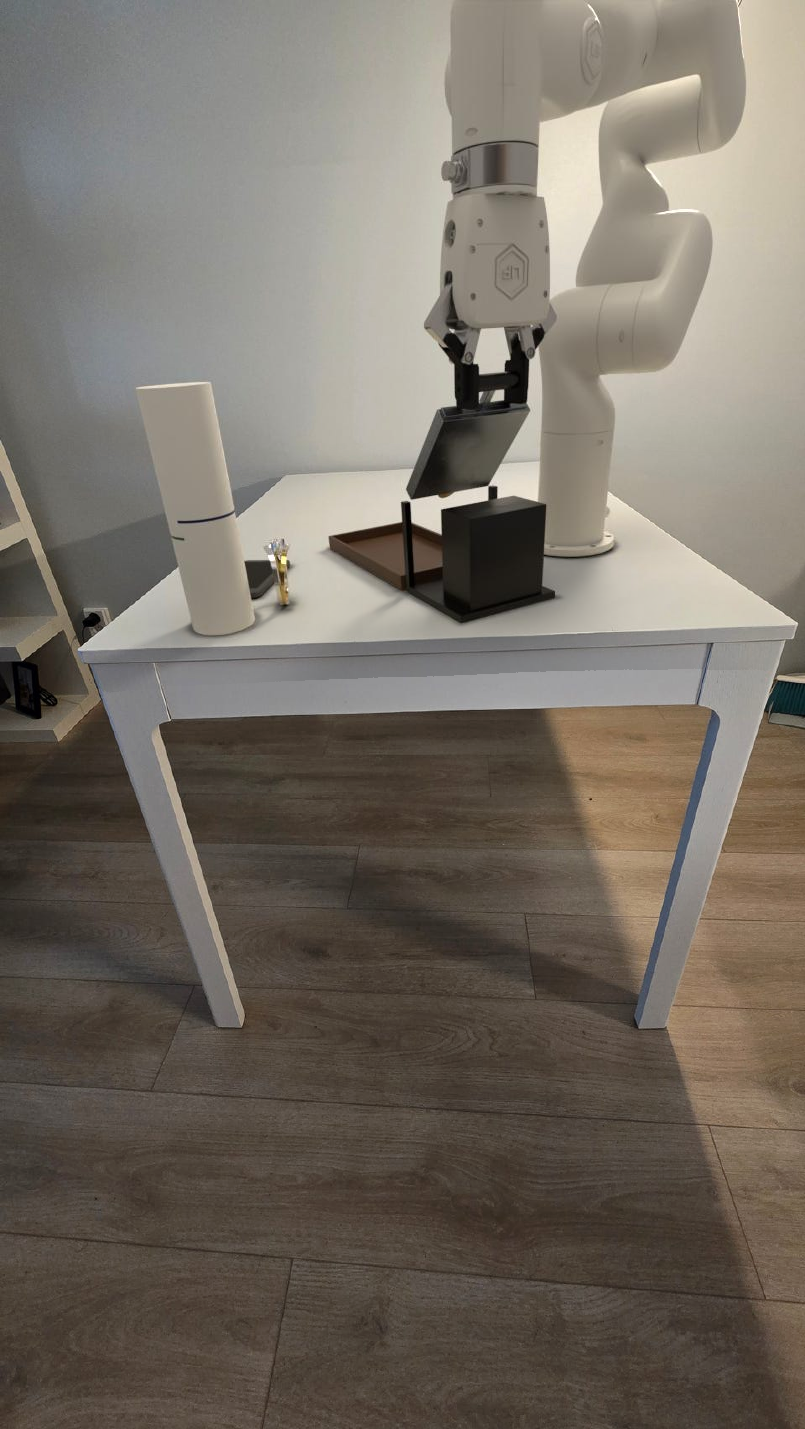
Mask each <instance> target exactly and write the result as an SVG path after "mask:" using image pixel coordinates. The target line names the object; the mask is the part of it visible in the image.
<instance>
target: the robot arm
mask: <svg viewBox="0 0 805 1429" xmlns="http://www.w3.org/2000/svg"><path fill="white" fill-rule="evenodd" d="M740 17H741V16H740V10H739V4H738V0H452V3H451V9H450V26H449V27H450V32H449V33H450V51H449V54H448V57H447V61H446V65H445V71H444V86H443V87H444V96H445V102H446V106H447V109H448V112H449V116H450V117H451V156H450V160H445V161H443V163H442V165H441V171H440V175H441V179H442V181H443V182H449V183H450V184H451V194H452V199H451V200H449V201H448V202H447V205H446V210H445V215H444V223H443V231H442V238H441V239H442V240H441V252H440V267H439V268H440V270H439V275H440V276H439V296H438V297H437V299H436V301H435V303H434V305H433V306H432V308H431V310H430V312H428V315H427V317H426V318H425V320H424V322H423V328H424V331H426V332H427V333H428V335H429V336H430V337H431V338H432V339H433V340H434V341H436V342H437V344H438V346H439V347H440V349H441V350H442V351H443V353H444V354H445V355H446V356H447V357H448V362H449V364H450V365H453V371H454V372H453V378H454V379H453V381H454V399H455V404H456V405H455V406H457V408H458V409H467V410H475V409H477V408H478V407H479V403H480V402H479V401H480V392H479V374H480V366H479V363H474V361H475V357H476V352H477V348H478V343H479V340H480V335H481V331H482V330H484V329H485V330H486V329H501V328H502V329H503V330H504V335H505V340H506V346H507V349H508V353H509V359H506V360H505V362H504V371H503V372H507V371H517V372H518V374H519V385H518V386H517V387H516V388H513V389H504V390H503V400H504V401H505V402H506V403H513V404H525V403H527V402H528V393H529V382H530V381H529V380H530V360H533V359H534V358H535V356H536V351H537V348H538V356H539V363H540V364H539V365H540V375H541V424H540V425H541V426H540V428H541V429H540V442H539V443H540V444H539V445H540V447H539V467H538V486H537V488H538V489H537V502H540V503H544V504H546V524H545V543H544V556H545V555H546V556H554V557H564V558H565V557H566V558H569V557H570V558H571V557H572V558H574V557H575V558H576V557H586V556H594V555H599V554H602V553H606V552H607V551H609V550H611V549H612V548H614V545H615V536H614V534H612V533H611V532H610V531H607V530H605V525H606V524H605V523H606V518H608V517H609V516H610V513H611V509H610V507H609V506H608V494H609V483H610V474H611V464H612V454H613V445H614V434H615V428H616V427H615V425H616V409H615V403H614V401H613V398H612V396H611V394H610V392H609V391H608V389H607V387H606V386H605V384H604V382H603V380H602V378H601V376H607V375H625V374H627V375H629V374H630V375H631V374H647V373H649V374H650V373H655V372H656V373H657V372H660V371H662V370H665V369H666V368H667V367H669V366H670V365H671V364H672V363H673V362H674V360H675V359H676V357H677V355H678V353H679V351H680V350H681V347H682V345H683V342H684V341H685V340H684V339H685V337H686V335H687V332H688V329H689V326H690V324H691V321H692V318H693V316H694V313H695V311H696V308H697V305H698V302H699V300H700V297H701V295H702V294H703V293H702V292H703V290H704V287H705V284H706V281H707V278H708V275H709V270H710V266H711V262H712V255H713V246H714V245H713V243H714V242H713V241H714V240H713V230H712V226H711V223H710V220H709V219H708V217H707V216H706V215H705V214H704V213H703V212H701V211H699V210H696V209H677V210H671V211H669V209H670V204H669V198H668V195H667V193H666V191H665V189H664V187H663V185H662V183H661V181H660V180H659V178H657V177H656V175H655V174H654V173H653V172H652V171H651V170H650V169H649V168H648V167H646V166H647V165H650V164H651V165H652V164H656V163H660V162H666V161H671V160H677V159H682V158H688V157H693V156H697V155H703V154H707V153H711V152H713V151H716V150H719V149H722V148H723V147H724V146H726V145H727V144H728V143H729V142H730V141H731V140H732V138H734V136H735V135H736V133H737V132H738V129H739V127H740V125H741V122H742V119H743V115H744V111H745V106H746V96H747V75H746V74H747V72H746V63H745V56H744V49H743V48H744V46H743V39H742V28H741V27H742V26H741V18H740ZM605 103H606V104H605ZM602 104H605V107H604V108H603V111H602V114H601V118H600V122H599V127H598V168H599V169H598V170H599V181H600V190H601V199H602V205H601V208H600V210H599V213H598V216H597V218H596V221H595V222H594V225H593V227H592V229H591V231H590V234H589V236H588V239H587V241H586V243H585V245H584V248H583V250H582V253H581V255H580V258H579V261H578V264H577V269H576V273H575V287H573V288H569V289H566V290H563V291H561V292H559V293H557V294H555V295H554V296H553V297H551V253H550V250H551V248H550V233H549V223H548V222H549V221H548V214H547V213H548V212H547V206H546V202H545V197H544V196H539V195H538V177H539V176H538V175H539V153H540V152H539V151H540V150H539V148H540V130H541V129H540V128H541V123H545V122H549V121H553V120H556V119H561V118H563V117H567V116H569V115H572V114H574V113H576V112H579V111H583V110H586V109H591V108H594V107H597V106H600V105H602ZM451 330H454V331H453V332H452V331H451ZM527 404H528V403H527Z"/></svg>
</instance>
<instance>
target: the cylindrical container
mask: <svg viewBox="0 0 805 1429" xmlns="http://www.w3.org/2000/svg"><path fill="white" fill-rule="evenodd" d="M135 394H136V397H137V401H138V406H139V409H140V410H139V411H140V414H141V419H142V422H143V426H144V430H145V431H144V432H145V434H146V439H147V443H148V447H149V451H150V455H151V459H152V463H153V468H154V471H155V475H156V476H155V477H156V479H157V484H158V488H159V492H160V496H161V502H162V504H163V509H164V514H165V517H166V521H167V526H168V529H169V533H170V538H171V542H172V546H173V551H174V555H175V559H176V562H177V568H178V572H179V576H180V579H181V584H182V588H183V591H184V596H185V600H186V604H187V609H188V613H189V617H190V621H191V625H192V630H193V631H194V632H195V633H197V634H198V635H203V636H224V635H230V634H235V633H238V632H240V631H243V630H246V629H248V628H249V627H251V626H252V625H253V624H255V621H256V617H255V612H254V606H253V601H252V598H251V595H250V590H249V584H248V579H247V573H246V568H245V563H244V561H245V558H244V553H243V547H242V543H241V537H240V531H239V526H238V521H237V515H236V511H235V505H234V500H233V499H234V498H233V494H232V488H231V483H230V478H229V473H228V466H227V461H226V456H225V451H224V446H223V439H222V435H221V430H220V429H221V428H220V424H219V418H218V413H217V409H216V404H215V398H214V393H213V388H212V382H211V381H193V382H192V381H191V382H179V383H178V382H176V383H166V384H155V385H145V386H139V387H135Z"/></svg>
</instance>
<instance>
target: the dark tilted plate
mask: <svg viewBox="0 0 805 1429" xmlns="http://www.w3.org/2000/svg"><path fill="white" fill-rule="evenodd" d="M518 385H519V374H518V372H517V371H507V372H504V371H497V372H488V373H487V372H486V373H479V393H482V394H481V397H479V407H478V408H477V409H475V410H467V409H458V408H457V406H456V405H451V406H445V407H440V408H439V409H436V411H435V414H434V417H433V419H432V421H431V423H430V427H429V429H428V432H427V434H426V437H425V440H424V442H423V445H422V447H421V450H420V451H419V454H418V457H417V460H416V462H415V464H414V467H413V469H412V471H411V474H410V477H409V480H408V482H407V485H406V488H405V491H406V493H407V495H408V497H409V500H411V501H413V500H418V499H423V498H430V497H435V496H438V495H441V494H447V493H452V492H454V493H457V492H463V491H468V490H474V489H479V488H480V489H481V488H485V487H488V486H490V484H491V482H492V480H493V478H494V476H495V475H496V473H497V471H498V470H499V468H500V466H501V464H502V462H503V460H504V459H505V457H506V455H507V453H508V452H509V450H510V448H511V446H512V444H513V443H514V441H515V439H516V437H517V435H518V433H519V432H520V430H521V428H522V426H523V425H524V423H525V421H526V419H527V418H528V416H529V414H530V413H531V408H530V407H529V405H528V403H525V404H513V403H506V402H505V401H504V399H502V400H493V401H492V399H493V397H494V395H495V393H496V391H502V390H503V391H504V389H513V388H516V387H517V386H518Z"/></svg>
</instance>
